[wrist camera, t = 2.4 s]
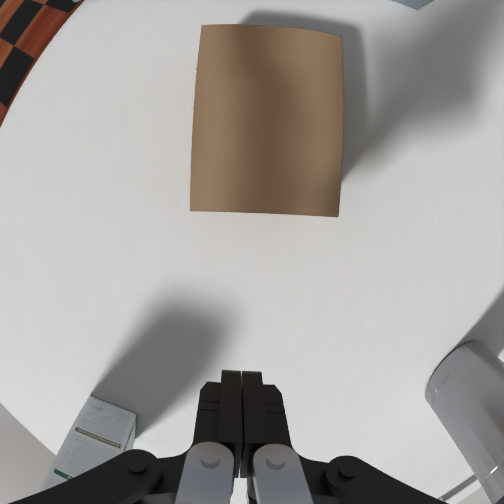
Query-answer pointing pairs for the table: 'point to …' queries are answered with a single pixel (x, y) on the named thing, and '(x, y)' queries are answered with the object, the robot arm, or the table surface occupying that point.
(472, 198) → the table surface
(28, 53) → the chessboard
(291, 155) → the block
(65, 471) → the syrup box
